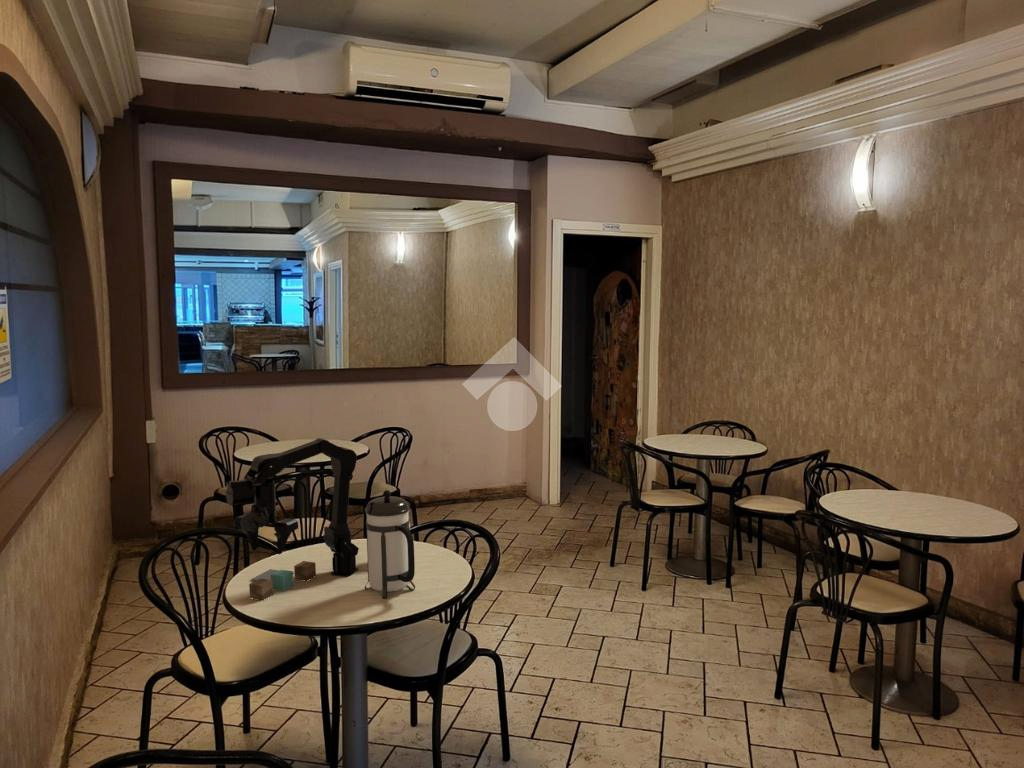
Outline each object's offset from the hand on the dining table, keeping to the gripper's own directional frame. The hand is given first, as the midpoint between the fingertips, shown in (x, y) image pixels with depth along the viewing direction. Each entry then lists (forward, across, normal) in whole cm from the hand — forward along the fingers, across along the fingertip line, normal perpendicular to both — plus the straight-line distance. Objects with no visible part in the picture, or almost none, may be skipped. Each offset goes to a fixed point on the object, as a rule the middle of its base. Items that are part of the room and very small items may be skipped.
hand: (267, 552), depth 212 cm
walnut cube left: (+12, 0, -3) cm, 13 cm away
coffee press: (+12, +34, +14) cm, 38 cm away
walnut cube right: (+12, +3, +14) cm, 19 cm away
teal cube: (+12, +1, +5) cm, 13 cm away
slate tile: (+12, -7, +10) cm, 18 cm away
